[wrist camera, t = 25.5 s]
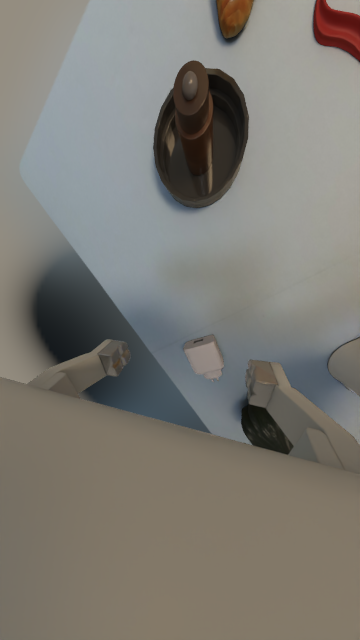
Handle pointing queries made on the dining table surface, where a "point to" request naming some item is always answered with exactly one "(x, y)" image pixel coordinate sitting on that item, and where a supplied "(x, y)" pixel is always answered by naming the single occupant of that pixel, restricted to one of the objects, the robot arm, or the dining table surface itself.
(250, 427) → the squash
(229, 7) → the pastry
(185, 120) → the pepper mill
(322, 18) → the cayenne pepper
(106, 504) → the robot arm
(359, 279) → the dining table surface
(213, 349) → the charger
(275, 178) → the dining table surface
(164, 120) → the pan
